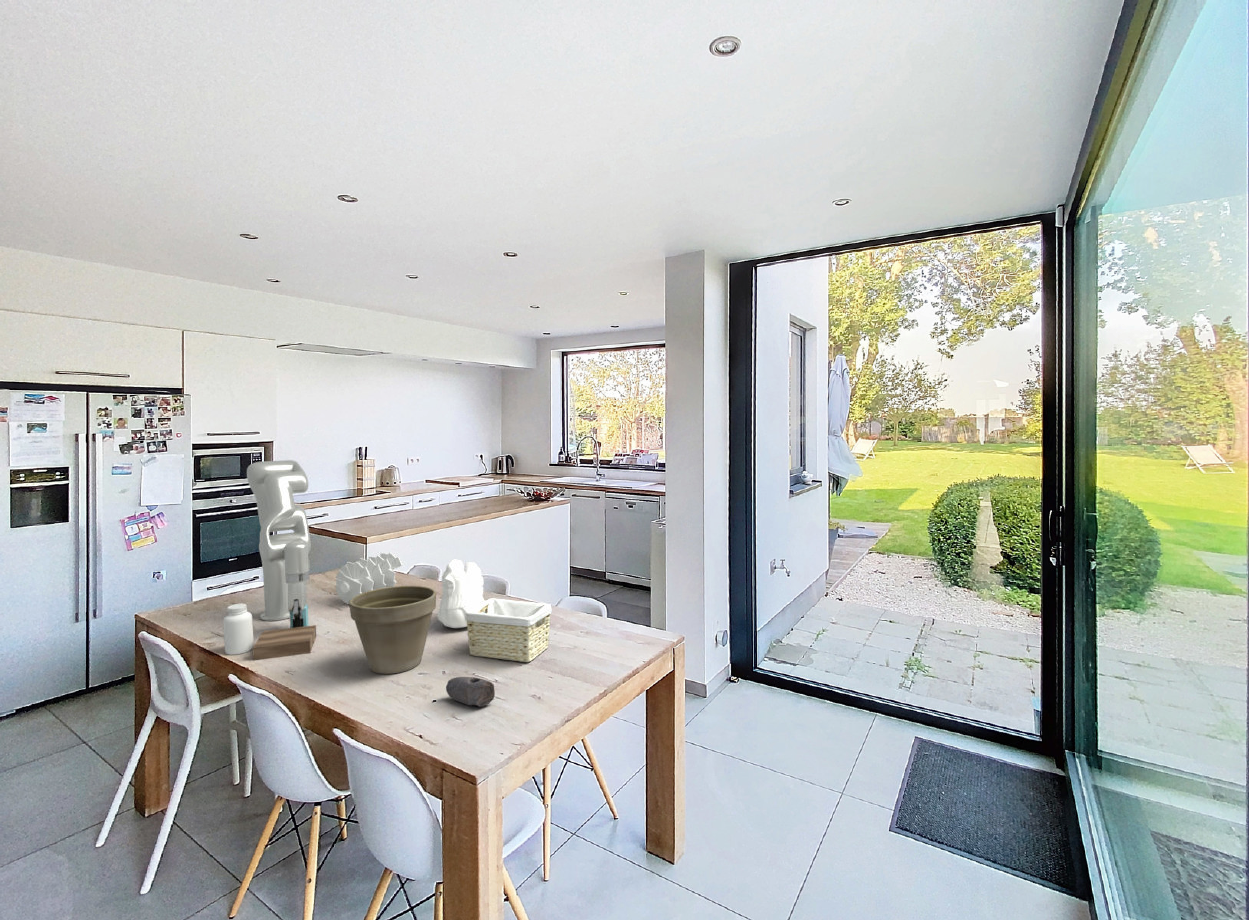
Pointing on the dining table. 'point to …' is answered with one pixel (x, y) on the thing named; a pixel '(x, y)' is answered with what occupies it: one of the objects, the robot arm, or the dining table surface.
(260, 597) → the dining table surface
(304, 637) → the wavy brown panel
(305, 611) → the teal carton
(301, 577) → the robot arm
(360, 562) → the spiral staircase
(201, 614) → the dining table surface
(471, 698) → the perforated stone tool
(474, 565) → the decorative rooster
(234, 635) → the pill bottle
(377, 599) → the plant pot
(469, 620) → the storage basket
